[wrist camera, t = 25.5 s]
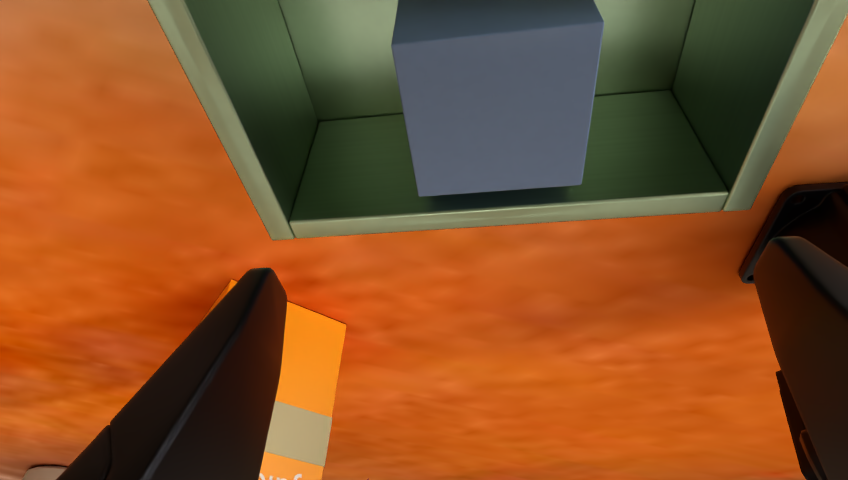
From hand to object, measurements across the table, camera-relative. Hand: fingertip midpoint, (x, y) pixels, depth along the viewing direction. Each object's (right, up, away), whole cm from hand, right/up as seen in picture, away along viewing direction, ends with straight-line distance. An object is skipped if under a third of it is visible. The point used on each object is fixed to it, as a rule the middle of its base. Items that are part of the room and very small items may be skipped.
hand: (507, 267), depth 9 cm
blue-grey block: (0, +8, +7) cm, 10 cm away
